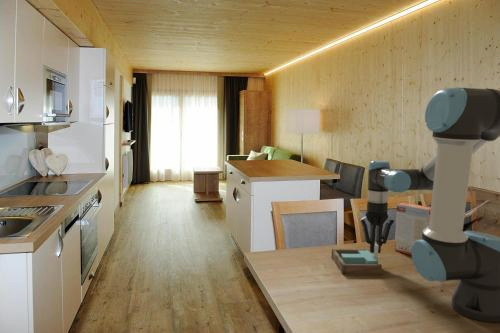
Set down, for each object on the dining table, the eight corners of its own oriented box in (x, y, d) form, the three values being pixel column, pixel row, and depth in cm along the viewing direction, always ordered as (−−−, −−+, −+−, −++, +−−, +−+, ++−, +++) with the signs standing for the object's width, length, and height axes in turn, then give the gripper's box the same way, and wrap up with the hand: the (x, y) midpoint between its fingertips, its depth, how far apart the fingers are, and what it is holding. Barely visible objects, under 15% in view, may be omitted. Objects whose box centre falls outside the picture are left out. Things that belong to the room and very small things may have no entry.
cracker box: (432, 256, 162) (435, 207, 159) (424, 259, 158) (427, 209, 156) (401, 247, 173) (404, 201, 170) (393, 250, 169) (396, 203, 167)
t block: (377, 271, 145) (378, 261, 145) (345, 271, 145) (346, 261, 144) (367, 260, 157) (367, 250, 157) (338, 260, 157) (338, 250, 156)
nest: (381, 274, 142) (381, 265, 142) (342, 274, 142) (343, 265, 141) (365, 257, 160) (366, 249, 160) (331, 257, 160) (331, 249, 159)
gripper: (390, 199, 152) (387, 257, 155) (357, 199, 152) (355, 257, 154) (398, 203, 145) (395, 264, 147) (363, 203, 144) (360, 264, 147)
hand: (374, 260), depth 151 cm, fingers closed
